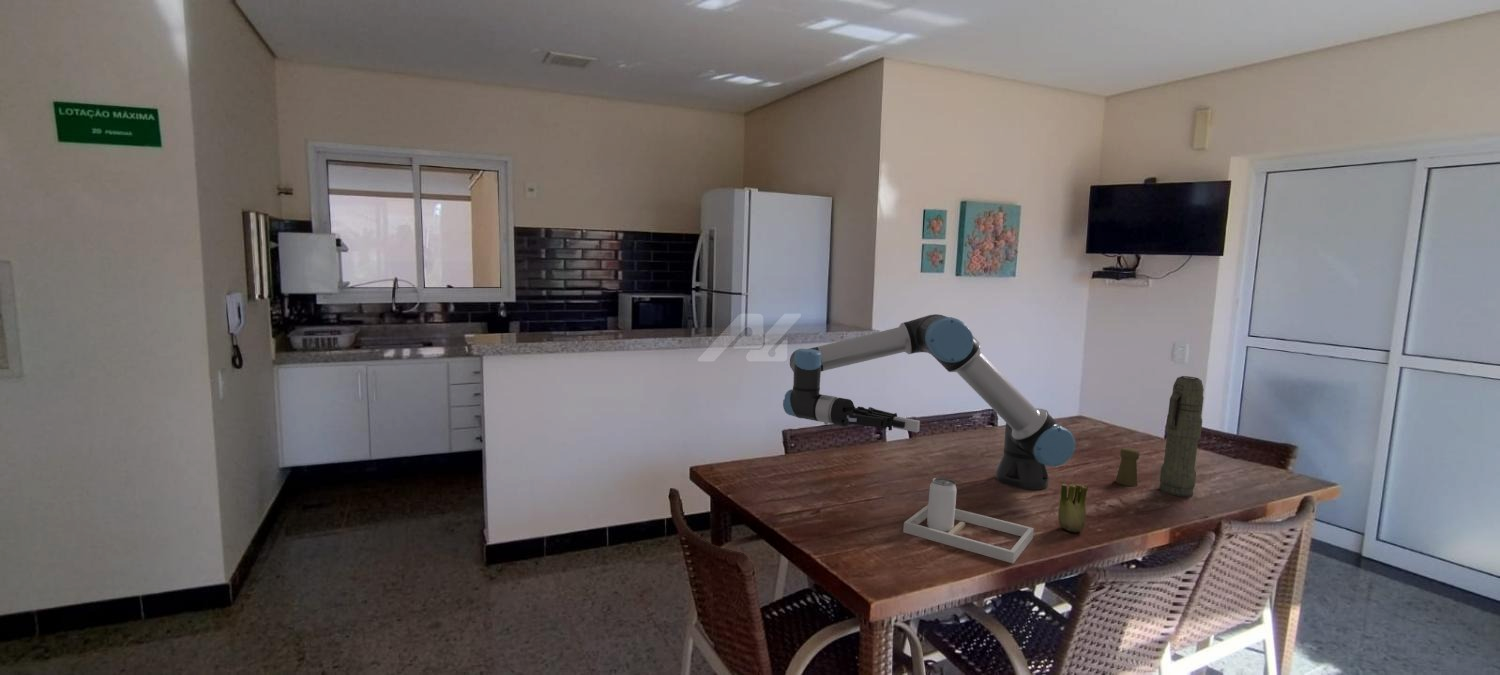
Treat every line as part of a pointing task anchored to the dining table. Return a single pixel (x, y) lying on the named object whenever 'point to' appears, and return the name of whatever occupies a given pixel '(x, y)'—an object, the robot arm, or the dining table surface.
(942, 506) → the can
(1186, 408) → the thermos
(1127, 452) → the olive tapered pillar
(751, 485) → the dining table surface
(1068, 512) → the fennel bulb
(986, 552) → the frame
